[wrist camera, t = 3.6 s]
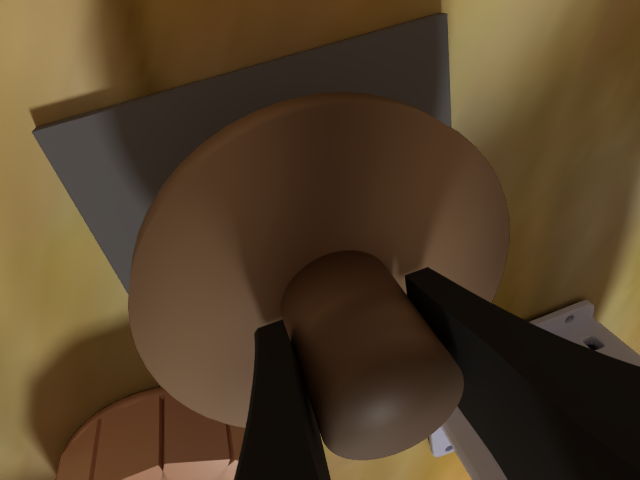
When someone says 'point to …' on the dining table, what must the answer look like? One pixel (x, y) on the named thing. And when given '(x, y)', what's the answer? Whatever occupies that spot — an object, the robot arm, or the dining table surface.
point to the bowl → (151, 443)
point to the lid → (318, 264)
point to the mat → (227, 120)
